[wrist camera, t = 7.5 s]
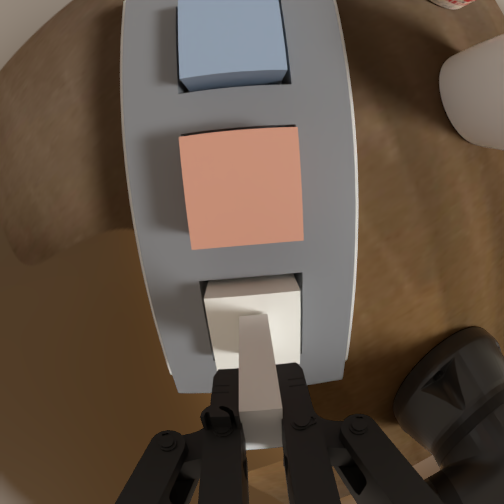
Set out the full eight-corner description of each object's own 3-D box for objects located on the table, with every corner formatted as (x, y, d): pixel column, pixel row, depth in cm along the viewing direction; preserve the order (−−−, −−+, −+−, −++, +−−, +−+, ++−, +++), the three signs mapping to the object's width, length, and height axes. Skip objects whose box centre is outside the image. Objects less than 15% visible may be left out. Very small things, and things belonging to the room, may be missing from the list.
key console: (344, 354, 23) (359, 384, 19) (172, 368, 23) (162, 401, 19) (328, -12, 13) (344, -38, 10) (127, 5, 13) (107, -18, 9)
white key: (292, 336, 19) (300, 363, 16) (219, 342, 19) (217, 370, 16) (291, 269, 18) (300, 290, 15) (209, 276, 17) (203, 298, 15)
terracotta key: (292, 225, 16) (303, 240, 13) (200, 232, 16) (191, 249, 13) (286, 132, 14) (297, 126, 11) (190, 141, 14) (178, 136, 11)
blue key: (279, 84, 14) (287, 69, 11) (190, 92, 14) (179, 78, 11) (271, 14, 12) (277, -10, 10) (187, 21, 12) (178, -1, 10)
